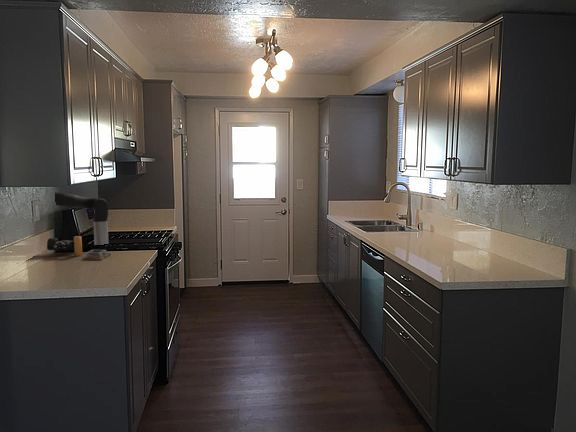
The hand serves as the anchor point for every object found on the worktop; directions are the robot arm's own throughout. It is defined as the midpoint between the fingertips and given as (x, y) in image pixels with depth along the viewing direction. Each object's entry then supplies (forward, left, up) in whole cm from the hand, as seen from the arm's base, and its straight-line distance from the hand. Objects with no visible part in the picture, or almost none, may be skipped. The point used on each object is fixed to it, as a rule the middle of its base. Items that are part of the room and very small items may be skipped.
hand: (75, 244), depth 300 cm
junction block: (+6, +16, -7) cm, 18 cm away
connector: (0, +2, -7) cm, 7 cm away
